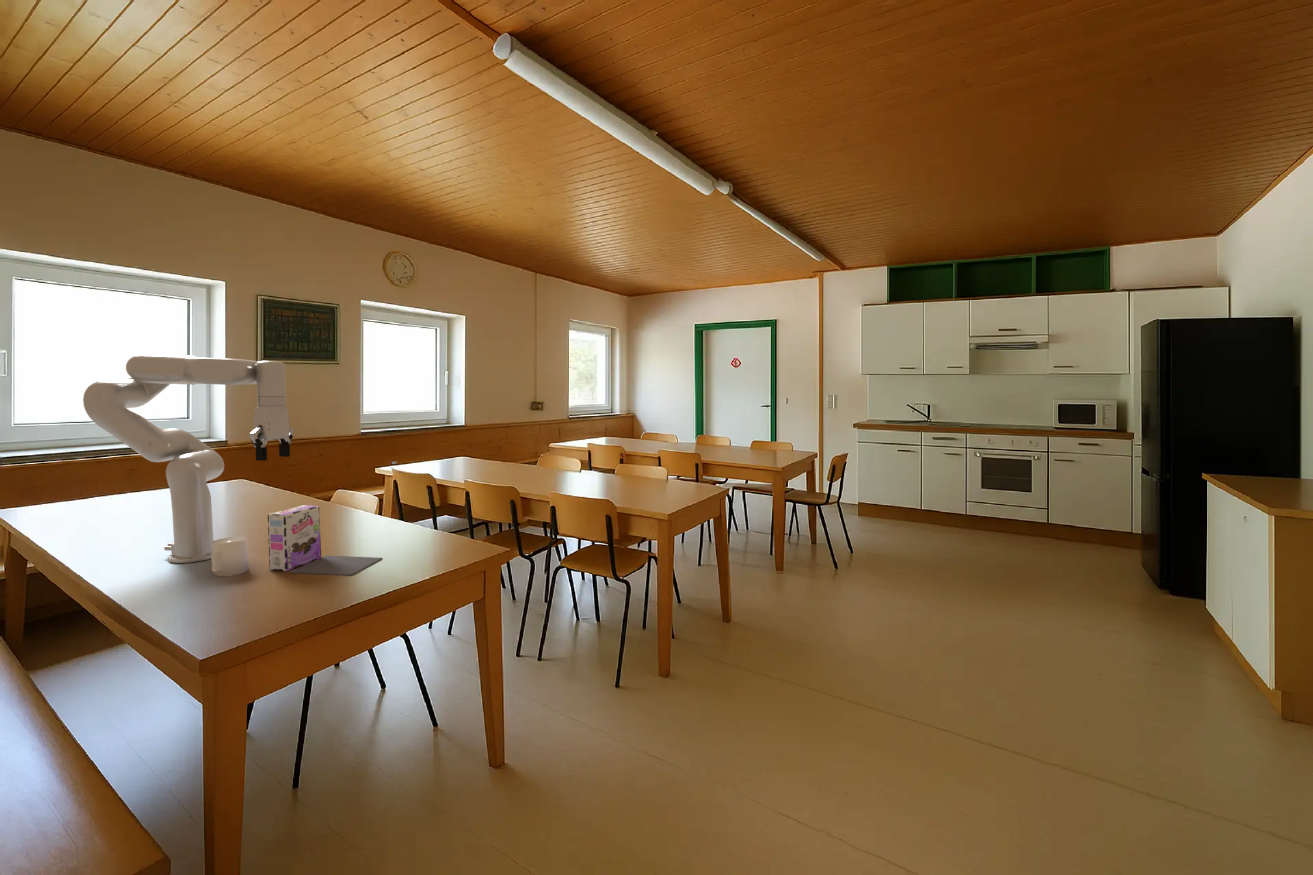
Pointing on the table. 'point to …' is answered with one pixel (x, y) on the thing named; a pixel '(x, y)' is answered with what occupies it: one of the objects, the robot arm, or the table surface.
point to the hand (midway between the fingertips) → (273, 458)
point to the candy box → (294, 537)
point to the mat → (337, 565)
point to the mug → (229, 556)
